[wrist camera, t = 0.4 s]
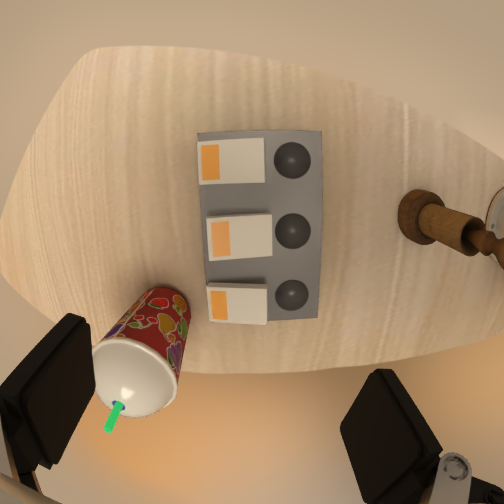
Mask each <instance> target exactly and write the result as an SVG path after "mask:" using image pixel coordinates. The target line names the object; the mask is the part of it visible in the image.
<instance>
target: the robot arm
mask: <svg viewBox="0 0 504 504" xmlns="http://www.w3.org/2000/svg"><path fill="white" fill-rule="evenodd" d="M486 230H488V231H492V232H494V233H495V235H496V238H498V239H501V238H504V188H503V189H501V190H500V191H499V192H498V193H497V195H496V196H495V198H494V200H493V202H492V204H491V206H490V209H489V212H488V216H487V221H486ZM490 256H491V258H492V259H493V260H494V261H496V262H498V261H497V259H496V257H495V255H494V254H493V253H492V254H490ZM95 388H96V381H95V374H94V365H93V356H92V345H91V331H90V325H89V324H88V323H86V320H85V318H84V317H81V316H78V315H75V314H72V313H67V314H66V315H65V316H64V317H63V318H62V319H61V320H60V321H59V322H58V323H57V324H56V325H55V326H54V327H53V328H52V329H51V330H50V331H49V333H48V334H46V335H45V337H44V338H43V339H42V340H41V341H40V342H39V343H38V344H37V345H36V346H35V347H34V348H33V350H31V351H30V353H29V354H28V355H27V356H26V357H25V358H24V359H23V360H22V361H21V362H20V364H19V365H18V366H17V367H16V368H15V369H14V370H13V372H12V373H11V374H10V375H9V376H8V377H7V378H6V380H5V381H4V382H3V383H2V384H1V386H0V504H61V503H59V502H57V501H55V500H53V499H51V498H48V497H46V496H44V495H43V493H42V491H41V488H40V485H39V483H38V480H37V477H36V474H35V469H36V468H37V466H38V464H39V465H41V466H43V467H45V468H47V469H49V470H50V469H51V467H52V465H53V464H58V462H59V461H60V459H61V457H62V455H63V453H64V450H65V448H66V446H67V444H68V442H69V440H70V438H71V436H72V434H73V432H74V430H75V428H76V426H77V424H78V422H79V420H80V418H81V417H82V414H83V413H84V411H85V409H86V407H87V405H88V403H89V401H90V400H91V398H92V396H93V394H94V391H95ZM340 432H341V435H342V438H343V441H344V444H345V447H346V450H347V453H348V456H349V459H350V462H351V465H352V468H353V471H354V474H355V477H356V480H357V483H358V486H359V489H360V492H361V495H362V499H363V501H364V502H365V503H367V504H504V491H503V490H502V489H501V488H500V487H498V486H496V485H493V484H490V483H488V482H485V481H483V480H480V479H477V478H475V477H472V468H471V466H470V463H469V462H468V460H467V459H466V458H464V457H463V456H462V455H460V454H458V453H454V452H452V453H447V454H444V456H442V457H441V458H440V457H439V454H440V453H441V452H442V451H443V449H442V447H441V445H440V444H439V442H438V440H437V439H436V437H435V436H434V434H433V432H432V430H431V429H430V427H429V425H428V424H427V422H426V421H425V419H424V417H423V416H422V414H421V413H420V411H419V409H418V408H417V406H416V405H415V403H414V402H413V400H412V398H411V397H410V395H409V394H408V392H407V391H406V389H405V388H404V386H403V385H402V383H401V382H400V380H399V379H398V377H397V376H396V374H395V373H394V371H393V370H392V369H376V370H375V371H374V372H373V373H370V375H369V376H368V378H367V380H366V382H365V384H364V385H363V387H362V389H361V390H360V392H359V394H358V396H357V397H356V399H355V401H354V403H353V404H352V406H351V408H350V409H349V411H348V413H347V414H346V416H345V418H344V419H343V421H342V422H341V425H340Z"/></svg>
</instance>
